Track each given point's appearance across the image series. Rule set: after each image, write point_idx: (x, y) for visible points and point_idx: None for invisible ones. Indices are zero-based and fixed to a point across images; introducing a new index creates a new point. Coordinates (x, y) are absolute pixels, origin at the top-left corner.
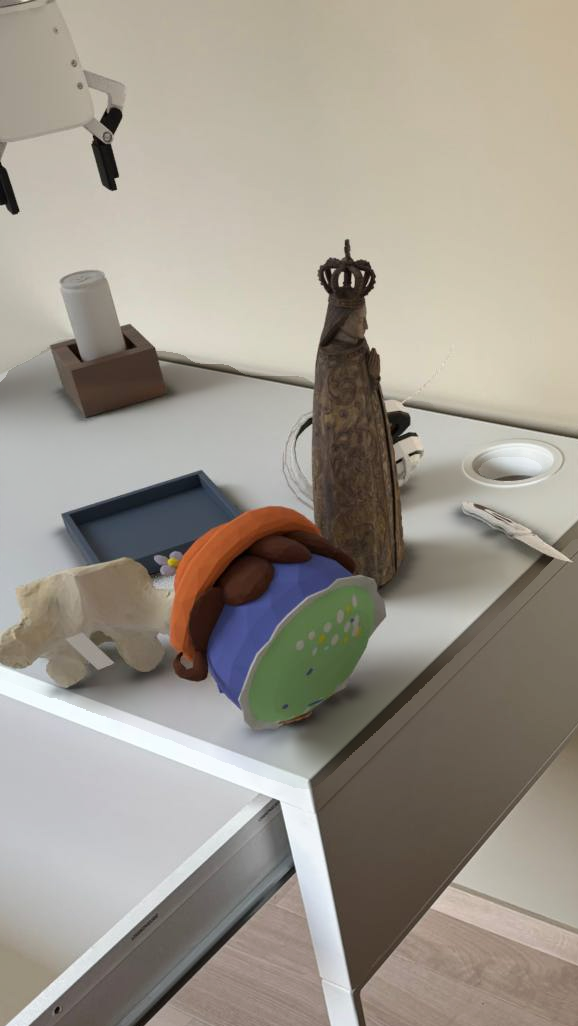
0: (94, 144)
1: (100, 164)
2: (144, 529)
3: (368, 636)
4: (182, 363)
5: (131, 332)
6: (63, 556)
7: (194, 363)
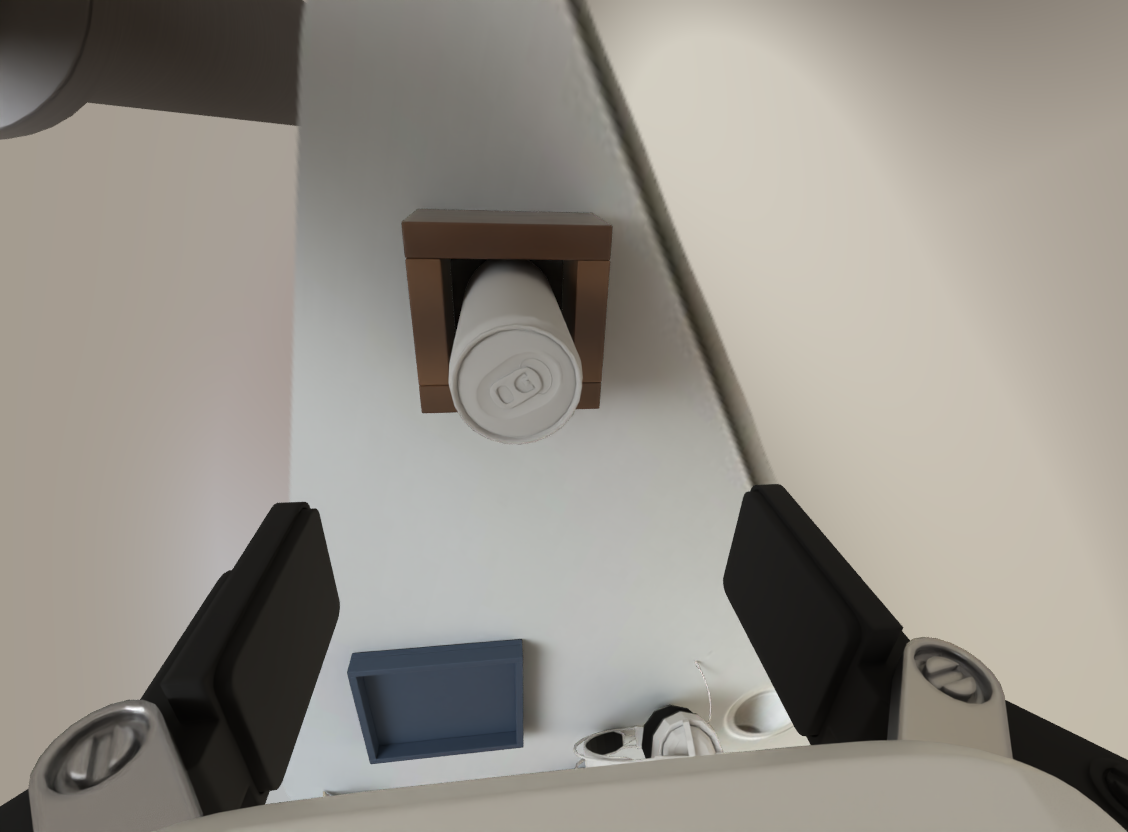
0: (839, 674)
1: (774, 625)
2: (432, 694)
3: None
4: (665, 246)
5: (593, 289)
6: (342, 689)
7: (682, 265)
